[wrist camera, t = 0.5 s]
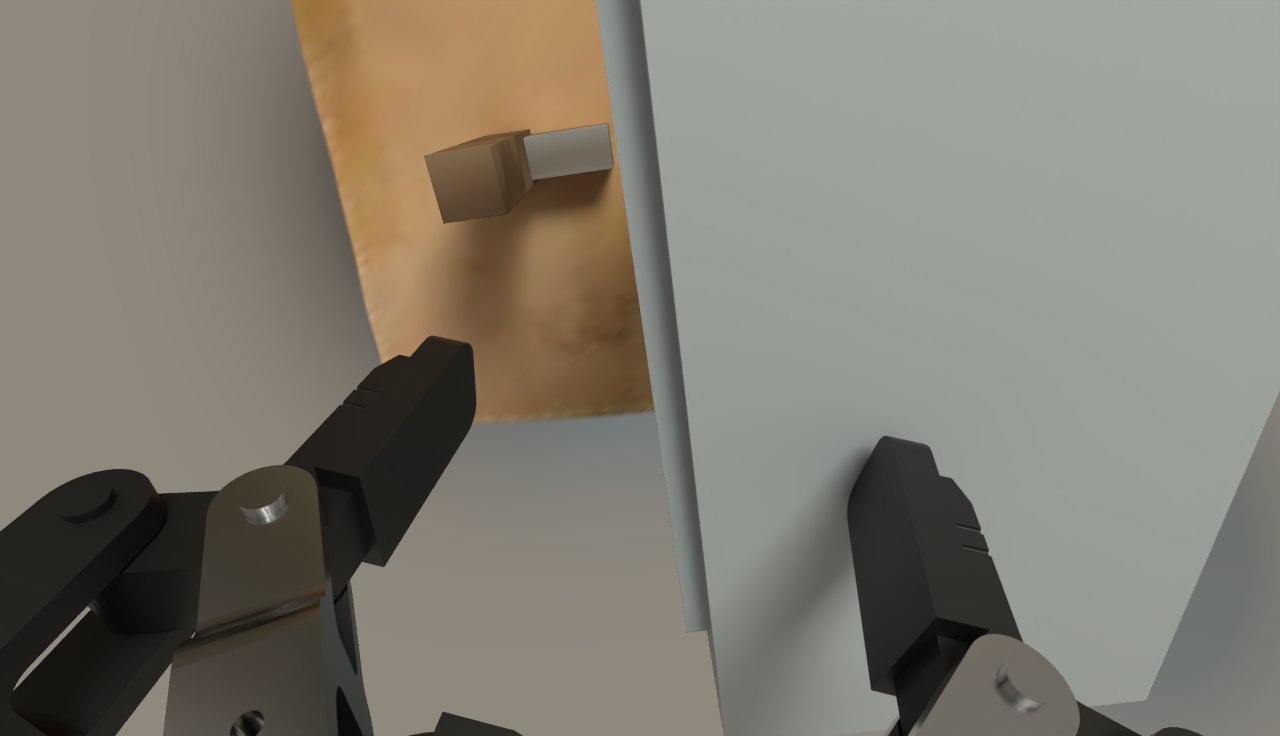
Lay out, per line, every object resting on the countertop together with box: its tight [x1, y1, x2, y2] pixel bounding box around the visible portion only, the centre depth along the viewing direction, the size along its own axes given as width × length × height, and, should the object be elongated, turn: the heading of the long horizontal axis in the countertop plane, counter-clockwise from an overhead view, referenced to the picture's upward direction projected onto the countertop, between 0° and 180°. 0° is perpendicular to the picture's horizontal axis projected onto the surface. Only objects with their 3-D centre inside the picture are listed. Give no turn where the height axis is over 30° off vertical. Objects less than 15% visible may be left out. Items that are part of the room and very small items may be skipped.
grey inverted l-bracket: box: [595, 0, 1280, 736], centre depth 23 cm, size 22×12×30 cm, turn 8°
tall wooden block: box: [424, 123, 614, 223], centre depth 31 cm, size 3×8×12 cm, turn 98°
